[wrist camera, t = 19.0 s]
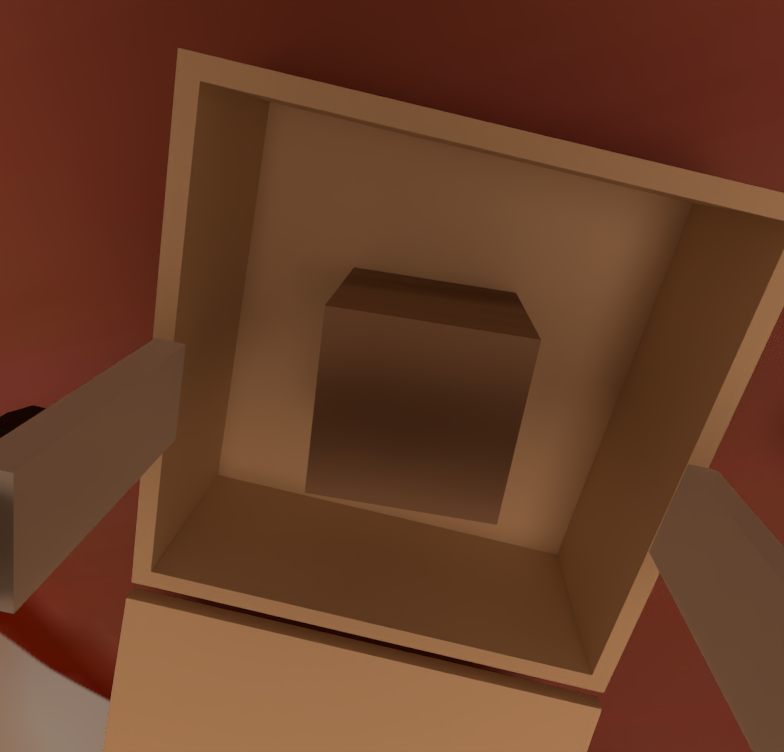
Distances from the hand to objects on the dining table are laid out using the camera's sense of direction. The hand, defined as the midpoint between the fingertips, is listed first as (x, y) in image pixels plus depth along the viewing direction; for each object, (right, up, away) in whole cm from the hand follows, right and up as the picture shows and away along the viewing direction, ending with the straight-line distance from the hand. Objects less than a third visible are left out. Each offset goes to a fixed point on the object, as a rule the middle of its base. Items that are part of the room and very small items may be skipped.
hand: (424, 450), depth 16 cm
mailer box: (+1, +3, +8) cm, 9 cm away
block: (0, +3, +8) cm, 8 cm away
